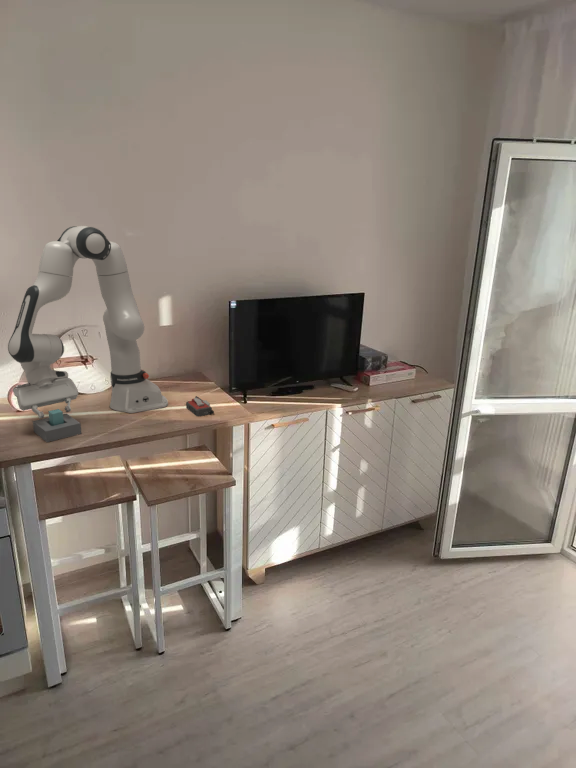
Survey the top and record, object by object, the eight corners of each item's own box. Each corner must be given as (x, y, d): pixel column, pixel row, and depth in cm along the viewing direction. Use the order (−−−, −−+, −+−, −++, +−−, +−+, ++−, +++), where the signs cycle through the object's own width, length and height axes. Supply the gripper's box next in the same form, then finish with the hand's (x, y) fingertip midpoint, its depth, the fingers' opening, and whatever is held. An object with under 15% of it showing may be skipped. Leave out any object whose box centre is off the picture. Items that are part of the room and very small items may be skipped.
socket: (67, 423, 211) (66, 413, 210) (81, 433, 203) (80, 423, 202) (33, 431, 204) (32, 421, 202) (47, 442, 195) (45, 431, 194)
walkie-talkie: (219, 414, 224) (198, 399, 241) (218, 404, 223) (198, 389, 239) (197, 418, 220) (178, 402, 236) (197, 407, 219) (178, 392, 235)
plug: (60, 429, 206) (58, 408, 203) (64, 433, 203) (62, 411, 201) (50, 432, 203) (48, 411, 201) (54, 435, 201) (52, 414, 198)
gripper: (12, 382, 196) (26, 417, 193) (71, 370, 209) (85, 403, 206) (9, 391, 201) (23, 425, 197) (67, 379, 214) (81, 411, 210)
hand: (55, 414), depth 201 cm, fingers open, 8 cm apart
